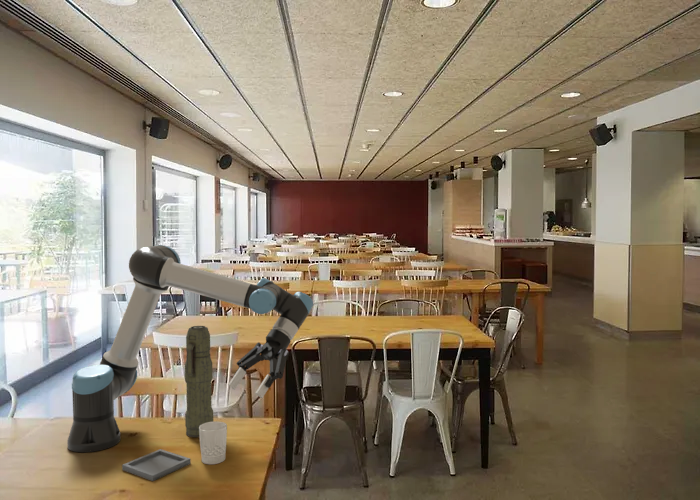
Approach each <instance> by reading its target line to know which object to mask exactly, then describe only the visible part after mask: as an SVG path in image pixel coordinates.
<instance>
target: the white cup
mask: <svg viewBox="0 0 700 500" xmlns="http://www.w3.org/2000/svg"><path fill="white" fill-rule="evenodd" d="M227 434H228V425H227V423H226V422H223V421H217V420H216V421H215V420H213V422H207V423H204V424H202V425H200V426H199V435H200V437H199V446H200V453H201V455H200V456H201V462H202V464H206V465H216V464H217V465H218V464H220V463H223V462H224V461H225V460H226V451H227V439H228V438H227Z"/></svg>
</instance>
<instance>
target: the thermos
mask: <svg viewBox="0 0 700 500" xmlns="http://www.w3.org/2000/svg"><path fill="white" fill-rule="evenodd" d="M187 329H188V330H187V333H186V337H185V345H186V346H185V347H186V349H185V350H186V359H185V362H184V381H185V384H186V411H185V415H184V417H185V418H184V419H185V423H184V424H185V425H184V426H185V429H186V430H185V435H186V436H188V437H190V438H200V435H199V426H200V425H202V424H204V423H207V422H214V409H213V407H212V406H213V405H212V381H213V378H214V377H213V360H212V358H211V353H210V351H211V334H210V330H209V328H208V326H206V325H194V326H190V327H189V328H187Z"/></svg>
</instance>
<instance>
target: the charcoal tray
mask: <svg viewBox="0 0 700 500" xmlns="http://www.w3.org/2000/svg"><path fill="white" fill-rule="evenodd" d="M191 461H192V460H191V458H190V457H186V456H184V455H180V454H178V453H177V454H176V453H174V452H171V451H167V450H165V449H161V448H160V449H157V450H155V451H152V452H150V453H147V454H145V455H143V456H140V457H138V458H135V459H133V460H131V461H128V462H126V463H123V464H121V470H122V471H123V472H127V473H130V474H133V475H135V476H137V477H140V478H143V479H146V480H148V481H151V482H155V481H156V480H159V479H161V478H164V477H165V476H167V475H169V474H172V473H173V472H176V471H178V470H180V469H182V468H184V467H187V466H189V465H191Z"/></svg>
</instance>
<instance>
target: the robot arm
mask: <svg viewBox="0 0 700 500" xmlns="http://www.w3.org/2000/svg"><path fill="white" fill-rule="evenodd" d="M128 269H129V273H130V274H131V275H132V281H133V284H135V286H134V288H133V291H132V293H131V297H130V299H129V302H128V303H127V306H126V309H125V312H124V314H123V316H122V319H121V322H120V324H119V327H118V329H117V332H116V334H115V338H114V339H113V343H112V345H111V348H110V350H108V351H106V352H104V353H103V355H102V358H101V359H100V360H101V361H100V363H99V364H93V365H89V366H86V367H82V368H80V369H78V370H77V371H75V372H74V373H73V375H72V379H71V380H72V382H71V389H72V392H71V393H72V420H73V422H72V424H71V428H70V432H69V435H68V437H67V449H68V450H69V451H71V452H74V453H92V452H93V453H94V452H98V451H99V452H100V451H103V450H106V449H109V448H112V447H114V446H116V445H117V444H119V443H120V442H121V431H120V428H119V426H118V425H119V424H118V423H117V421H116V417H115V412H114V411H115V409H114V407H115V406H114V403H115V400H116V399H117V398H119V397H121V396H122V395H124V394H126V393H128V392H129V391H130V389H132V387H134V385H135V383H136V381H137V379H138V370H137V368H138V366H139V363H140V362H139V360H138V359H137V356H138V353H139V351H140V349H141V345H142V343H143V341H144V338H145V335H146V333H147V330H148V328H149V325H150V322H151V320H152V319H153V315H154V312H155V310H156V307H157V305H158V303H159V300H160V297H161V295H162V294H163V293H165V292H167V291H168V290H169V287H171V288H175V289H177V290H182V291H185V292H189V293H193V294H197V295H200V296H203V297H207V298H211V299H215V300H218V301H222V302H226V303H229V304H232V305H236V306H238V307H244V308H246V309H249V310H251V311H253V312H254V314H255V313H256V314H257V315H265V314H268V313H270V312H271V311H274V312H276V313H278V314H280V315H279V317H278V318H277V320H276V321H275V322H274V324H273V326H272V329H270V330H269V332H268V334H267V335H266V336H265V343H263V344H261V342H259V341H258V342H257V343H256V344H255V346H254V347H252V349H251V350H249V351H248V352H247V353H246V354H245V355H244V356H242V357H241V358H240V359H239V360H238V361H237V362H236V366H238V369H237V370H236V371H235V373H234V374H233V377H232V378H231V380H230V381H229V382H228V384H227V385H228V386H229V387H230V388H231V389H232V390H234V391H235V390H236V389H237V388H238V386H239V384H240V383H241V381H242V380H243V378H244V377H245V375H246V374H247V371H248V370H249V369H250V368H251V367H253V366H254V365H255V366H256V364H257V363H259V362H263V361H269V372H268V374H266V375H265V377H264V379H263V380H262V382H261V383H260V385H259V386H258V388H257V389H256V391H255V395H257V396H258V397H259V398H260V399H263V398H264V396H265V395H266V393H267V391H268V390H269V389H270V388H271V387H272V385H273V384H274V382H275V381H276V380H277V379H280V380H281V379H283V377H284V372H285V367H286V362H287V359H288V357H289V354H290V351H288V347H289V346H290V344H291V341H292V340H293V339H294V337H295V335H296V334H297V333H298V331H299V330H300V328H301V326H302V325H303V323H304V322H305V321H306V319H307V317H308V316H309V314H310V312H311V310H312V308H313V307H314V301H313V299H312V298H311V296H310V295H308V294H306V293H303V292H302V291H296V292H295V293H294V294H292V293H290V292H288V291H287V290H286V289H284V288H282V287H281V286H280V285H278V284H276V283H275V282H273V281H272V280H269V279H268V278H266V277H262V278H260V279H259V281H258V282H257V284H253V283H251V282H246V281H243V280H239V279H236V278H233V277H228V276H226V275H223V274H217V273H215V272H211V271H207V270H204V269H200V268H197V267H194V266H189V265H185V264H183V263H182V262H181V258H180V255H179V254H178V252H177V251H176V250H175V249H174V248H172V247H170V246H168V245H163V244H158V245H157V244H155V245H154V246H143V247H140V248H138V249H137V250H135V251H134V252H133V253H132V254H131V256H130V257H129V261H128Z"/></svg>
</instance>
